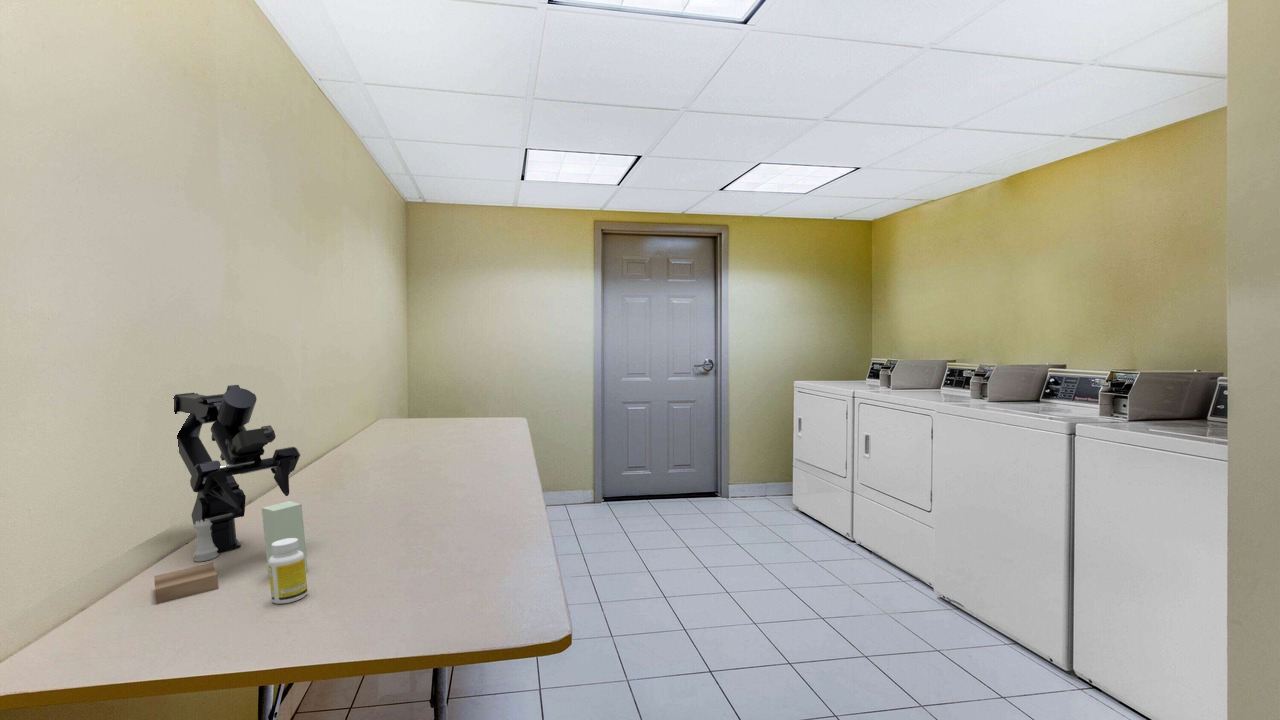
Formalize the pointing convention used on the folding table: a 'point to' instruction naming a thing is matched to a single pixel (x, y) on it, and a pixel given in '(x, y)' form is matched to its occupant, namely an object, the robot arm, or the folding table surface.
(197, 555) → the rook chess piece
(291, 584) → the supplement bottle
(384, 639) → the folding table surface
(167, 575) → the walnut block
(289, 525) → the sage post
